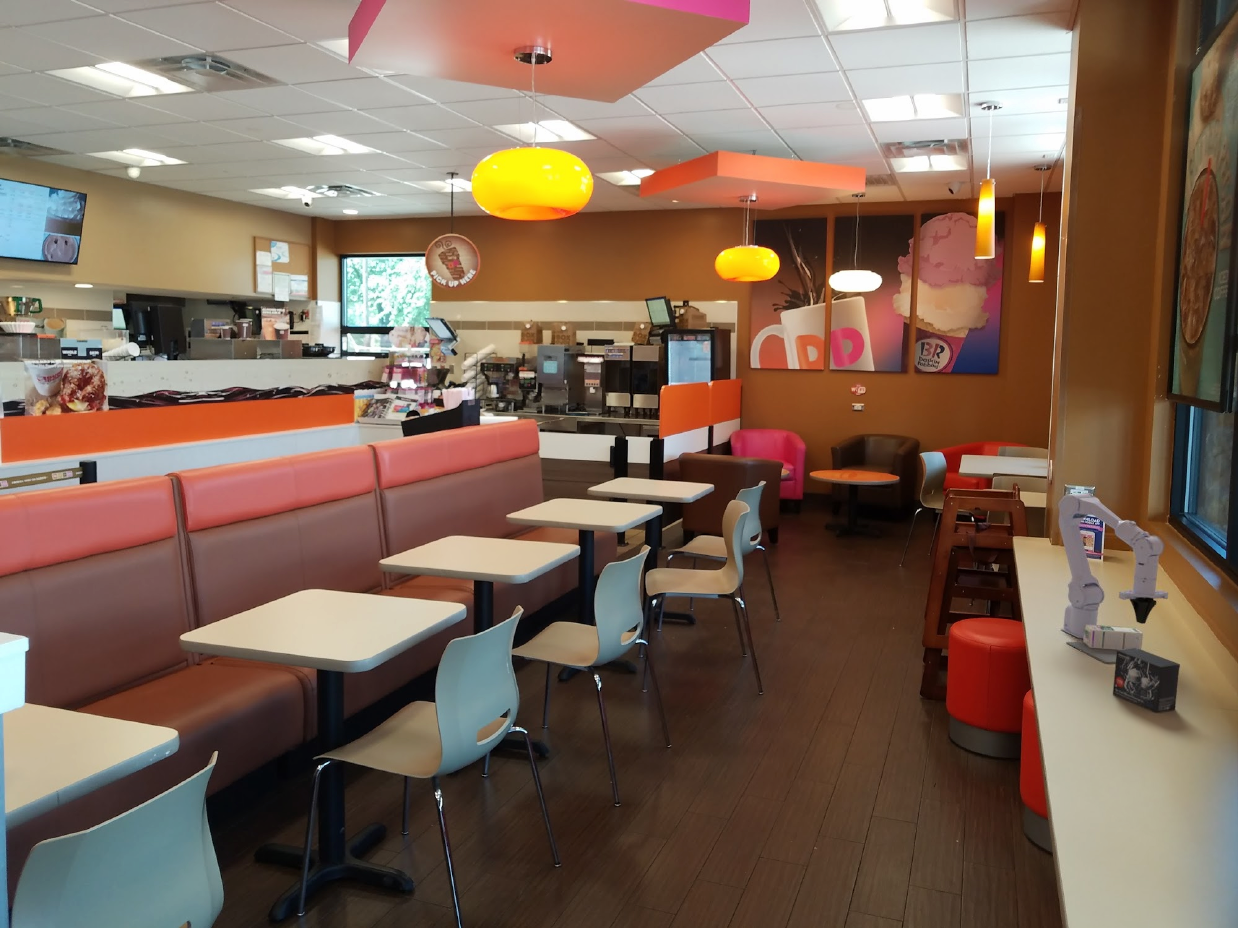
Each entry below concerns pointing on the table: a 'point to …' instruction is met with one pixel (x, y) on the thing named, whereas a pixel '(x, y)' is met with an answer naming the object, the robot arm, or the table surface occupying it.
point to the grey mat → (1096, 652)
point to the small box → (1146, 679)
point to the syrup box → (1112, 637)
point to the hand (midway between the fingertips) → (1140, 622)
